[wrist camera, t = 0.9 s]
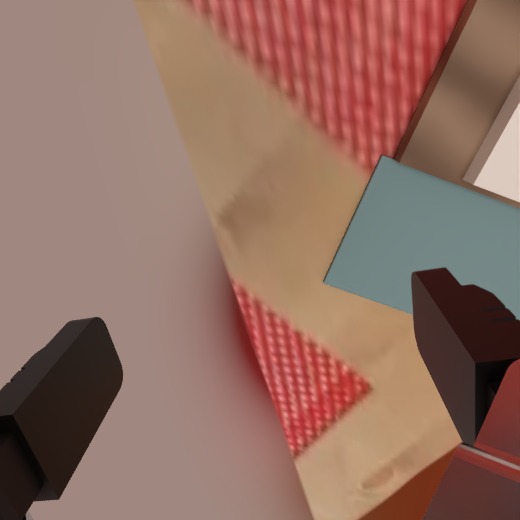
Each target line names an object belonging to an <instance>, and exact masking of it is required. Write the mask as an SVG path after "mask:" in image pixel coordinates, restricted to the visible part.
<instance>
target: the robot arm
mask: <svg viewBox="0 0 520 520" xmlns="http://www.w3.org/2000/svg"><path fill="white" fill-rule="evenodd" d="M411 289H412V304H413V320H414V332H415V338H416V342H417V346H418V349H419V352H420V354H421V356H422V358H423V361H424V363H425V365H426V367H427V369H428V371H429V373H430V375H431V377H432V379H433V381H434V383H435V385H436V387H437V390H438V392H439V394H440V396H441V398H442V400H443V402H444V404H445V406H446V408H447V410H448V412H449V414H450V416H451V419H452V421H453V423H454V425H455V427H456V429H457V431H458V433H459V435H460V437H461V439H462V441H463V443H461V444H460V445H459V446H458V448H457V450H456V451H455V453H454V455H453V457H452V459H451V461H450V463H449V465H448V467H447V470H446V471H445V474H444V475H443V478H442V480H441V482H440V484H439V486H438V488H437V490H436V492H435V495H434V496H433V498H432V501H431V503H430V505H429V507H428V509H427V511H426V513H425V515H424V517H423V519H422V520H520V320H519V319H517V320H516V316H515V315H514V314H513V313H512V312H511V311H510V310H509V309H508V308H507V309H506V307H505V305H504V304H503V303H502V302H501V301H500V300H499V299H498V298H497V297H496V296H495V295H494V294H493V293H492V292H489V291H487V290H485V289H483V288H481V287H479V286H477V285H474V284H469V285H461V284H460V283H459V282H458V281H457V280H456V278H455V277H454V276H453V275H452V274H451V272H450V271H449V270H448V269H447V268H446V267H442V268H436V269H429V270H422V271H415V272H412V275H411ZM21 369H22V370H21V371H18V372H17V373H16V374H15V375H14V376H13V378H12V379H11V382H9V383H7V384H6V385H5V386H4V387H3V388H2V389H1V390H0V520H34V519H33V517H32V516H31V514H30V513H29V511H28V509H29V508H30V506H31V504H32V503H33V501H45V500H58V499H59V498H60V497H61V495H62V493H63V491H64V489H65V488H66V486H67V484H68V482H69V480H70V478H71V477H72V475H73V473H74V471H75V470H76V468H77V466H78V464H79V462H80V461H81V459H82V457H83V455H84V453H85V452H86V450H87V448H88V446H89V444H90V442H91V441H92V439H93V437H94V435H95V433H96V432H97V430H98V428H99V426H100V424H101V422H102V421H103V419H104V417H105V415H106V414H107V412H108V410H109V408H110V406H111V405H112V403H113V401H114V399H115V397H116V395H117V394H118V392H119V390H120V388H121V385H122V380H123V370H122V365H121V363H120V360H119V357H118V355H117V352H116V350H115V347H114V344H113V342H112V339H111V337H110V334H109V332H108V329H107V327H106V324H105V323H104V321H103V320H102V319H101V318H99V317H94V318H87V319H80V320H73V321H70V322H68V323H67V324H66V325H65V326H64V327H63V328H62V329H61V330H60V331H59V332H58V333H57V334H56V336H55V337H54V338H53V339H52V340H51V341H50V342H49V343H48V344H47V345H46V346H45V347H44V348H43V349H41V350H40V351H38V352H37V353H36V354H34V355H33V356H32V357H31V358H30V359H29V361H28V362H27V363H26V364H25V365H24V366H23V367H22V368H21Z"/></svg>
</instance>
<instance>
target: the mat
mask: <svg viewBox="0 0 520 520" xmlns="http://www.w3.org/2000/svg"><path fill="white" fill-rule="evenodd" d="M442 267H446V268H447V269H448V270H449V271H450V272H451V274H452V275H453V276H454V277H455V278H456V280H457V281H458V282H459V283H460V284H461V285H469V284H474V285H477V286H479V287H481V288H483V289H485V290H487V291H489V292H492V293H493V294H494V295H495V296H496V297H497V298H498V299H499V300H500V301H501V302H502V303H503V304H504V305H505V307H506V309H507V308H508V309H509V310H510V311H511V312H512V313H513V314H514V315H515V316H516V320H517V319H519V320H520V208H517V207H515V206H512V205H509V204H507V203H504V202H501V201H499V200H496V199H493V198H491V197H488V196H485V195H483V194H480V193H478V192H475V191H472V190H470V189H467V188H464V187H462V186H459V185H456V184H454V183H451V182H448V181H446V180H443V179H441V178H438V177H435V176H433V175H430V174H427V173H425V172H422V171H419V170H417V169H414V168H411V167H409V166H406V165H404V164H401V163H399V162H397V161H395V160H394V159H392V158H389V157H387V156H384V155H381V157H380V159H379V161H378V163H377V166H376V168H375V170H374V172H373V174H372V177H371V179H370V181H369V183H368V185H367V187H366V190H365V192H364V194H363V196H362V198H361V200H360V203H359V205H358V207H357V209H356V211H355V213H354V216H353V218H352V220H351V222H350V224H349V227H348V229H347V231H346V233H345V235H344V237H343V240H342V242H341V244H340V246H339V248H338V250H337V253H336V255H335V257H334V259H333V261H332V263H331V266H330V268H329V270H328V272H327V274H326V277H325V279H324V281H323V283H324V284H327V285H330V286H333V287H336V288H339V289H341V290H344V291H347V292H350V293H353V294H356V295H359V296H361V297H364V298H367V299H370V300H373V301H376V302H378V303H381V304H384V305H387V306H390V307H393V308H396V309H398V310H401V311H404V312H407V313H410V314H413V304H412V289H411V275H412V272H415V271H422V270H429V269H436V268H442Z"/></svg>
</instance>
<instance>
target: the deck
mask: <svg viewBox="0 0 520 520" xmlns="http://www.w3.org/2000/svg"><path fill="white" fill-rule="evenodd" d="M519 75H520V0H468V1H467V3H466V6H465V8H464V10H463V12H462V14H461V16H460V18H459V20H458V23H457V25H456V27H455V29H454V31H453V33H452V35H451V37H450V39H449V42H448V44H447V46H446V48H445V50H444V52H443V54H442V56H441V59H440V61H439V63H438V65H437V67H436V69H435V71H434V73H433V75H432V78H431V80H430V82H429V84H428V86H427V88H426V90H425V92H424V94H423V97H422V99H421V101H420V103H419V105H418V107H417V109H416V111H415V114H414V116H413V118H412V120H411V122H410V124H409V126H408V128H407V130H406V133H405V135H404V137H403V139H402V141H401V143H400V145H399V147H398V149H397V152H396V154H395V156H394V158H393V159H394V160H395V161H397V162H399V163H401V164H404V165H406V166H409V167H411V168H414V169H417V170H419V171H422V172H425V173H427V174H430V175H433V176H435V177H438V178H441V179H443V180H446V181H448V182H451V183H454V184H456V185H459V186H462V187H464V188H467V189H470V190H472V191H475V192H478V193H480V194H483V195H485V196H488V197H491V198H493V199H496V200H499V201H501V202H504V203H507V204H509V205H512V206H515V207H517V208H520V202H517V201H515V200H512V199H509V198H507V197H504V196H501V195H499V194H496V193H494V192H491V191H488V190H486V189H483V188H480V187H478V186H475V185H473V184H471V183H469V182H467V181H465V180H463V177H464V176H465V174H466V172H467V170H468V168H469V166H470V165H471V163H472V161H473V159H474V157H475V155H476V154H477V152H478V150H479V148H480V146H481V145H482V143H483V141H484V139H485V137H486V135H487V134H488V132H489V130H490V128H491V126H492V124H493V123H494V121H495V119H496V117H497V115H498V114H499V112H500V110H501V108H502V106H503V104H504V103H505V101H506V99H507V97H508V95H509V94H510V92H511V90H512V88H513V86H514V84H515V83H516V81H517V79H518V77H519Z"/></svg>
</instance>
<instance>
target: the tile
mask: <svg viewBox="0 0 520 520" xmlns="http://www.w3.org/2000/svg"><path fill="white" fill-rule="evenodd" d="M463 180H465V181H467V182H469V183H471V184H473V185H475V186H478V187H480V188H483V189H486V190H488V191H491V192H494V193H496V194H499V195H501V196H504V197H507V198H509V199H512V200H515V201H517V202H520V75H519V77H518V79H517V81H516V83H515V84H514V86H513V88H512V90H511V92H510V94H509V95H508V97H507V99H506V101H505V103H504V104H503V106H502V108H501V110H500V112H499V114H498V115H497V117H496V119H495V121H494V123H493V124H492V126H491V128H490V130H489V132H488V134H487V135H486V137H485V139H484V141H483V143H482V145H481V146H480V148H479V150H478V152H477V154H476V155H475V157H474V159H473V161H472V163H471V165H470V166H469V168H468V170H467V172H466V174H465V176H464V177H463Z"/></svg>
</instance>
